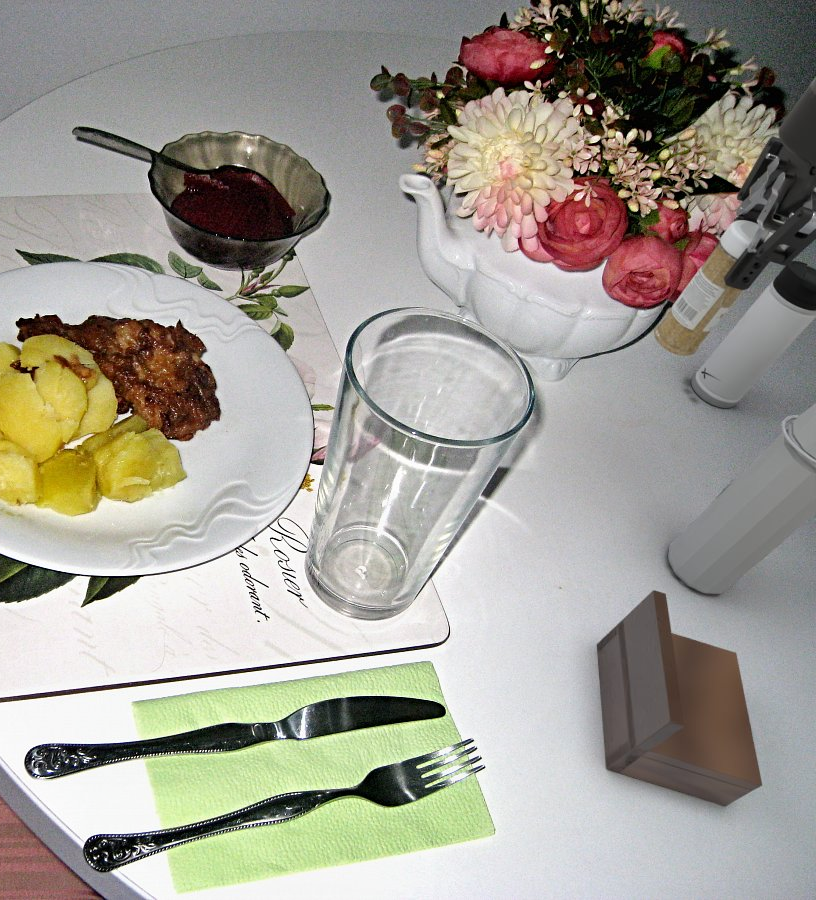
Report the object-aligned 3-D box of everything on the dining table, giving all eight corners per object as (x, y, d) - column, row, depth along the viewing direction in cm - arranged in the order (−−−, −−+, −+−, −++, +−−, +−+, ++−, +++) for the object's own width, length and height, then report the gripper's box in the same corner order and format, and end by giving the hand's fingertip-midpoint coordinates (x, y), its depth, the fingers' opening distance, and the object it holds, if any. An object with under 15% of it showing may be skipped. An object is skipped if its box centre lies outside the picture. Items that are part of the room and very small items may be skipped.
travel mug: (684, 392, 117) (786, 271, 102) (696, 367, 121) (795, 247, 106) (730, 417, 115) (840, 298, 100) (740, 391, 119) (847, 273, 104)
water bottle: (738, 607, 94) (922, 454, 76) (667, 588, 94) (834, 430, 75) (719, 538, 100) (886, 381, 82) (653, 520, 100) (804, 359, 82)
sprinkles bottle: (702, 360, 90) (790, 251, 80) (661, 355, 89) (745, 245, 79) (684, 329, 93) (767, 221, 83) (644, 324, 92) (724, 214, 82)
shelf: (704, 676, 87) (771, 625, 80) (726, 806, 79) (803, 762, 71) (596, 643, 87) (653, 589, 80) (606, 769, 79) (670, 721, 71)
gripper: (933, 156, 67) (782, 327, 79) (880, 75, 76) (753, 239, 89) (836, 127, 67) (701, 303, 79) (795, 50, 76) (680, 217, 89)
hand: (729, 268), depth 84 cm, fingers closed on sprinkles bottle, 4 cm apart
